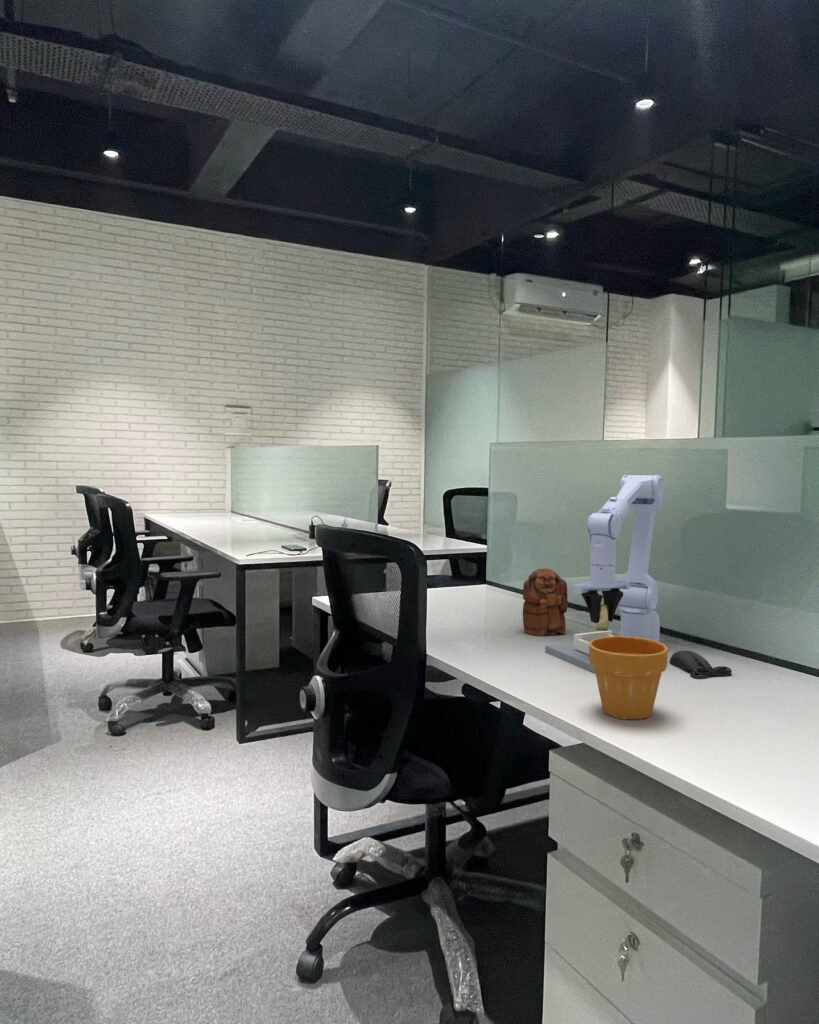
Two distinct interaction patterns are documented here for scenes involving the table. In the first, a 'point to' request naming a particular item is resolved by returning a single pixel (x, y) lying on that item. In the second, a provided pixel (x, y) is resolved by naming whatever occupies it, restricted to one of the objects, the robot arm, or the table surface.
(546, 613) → the wooden figurine
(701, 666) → the computer mouse
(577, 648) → the frame
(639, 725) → the table surface
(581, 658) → the base board
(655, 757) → the table surface
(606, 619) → the pin
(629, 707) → the flower pot
